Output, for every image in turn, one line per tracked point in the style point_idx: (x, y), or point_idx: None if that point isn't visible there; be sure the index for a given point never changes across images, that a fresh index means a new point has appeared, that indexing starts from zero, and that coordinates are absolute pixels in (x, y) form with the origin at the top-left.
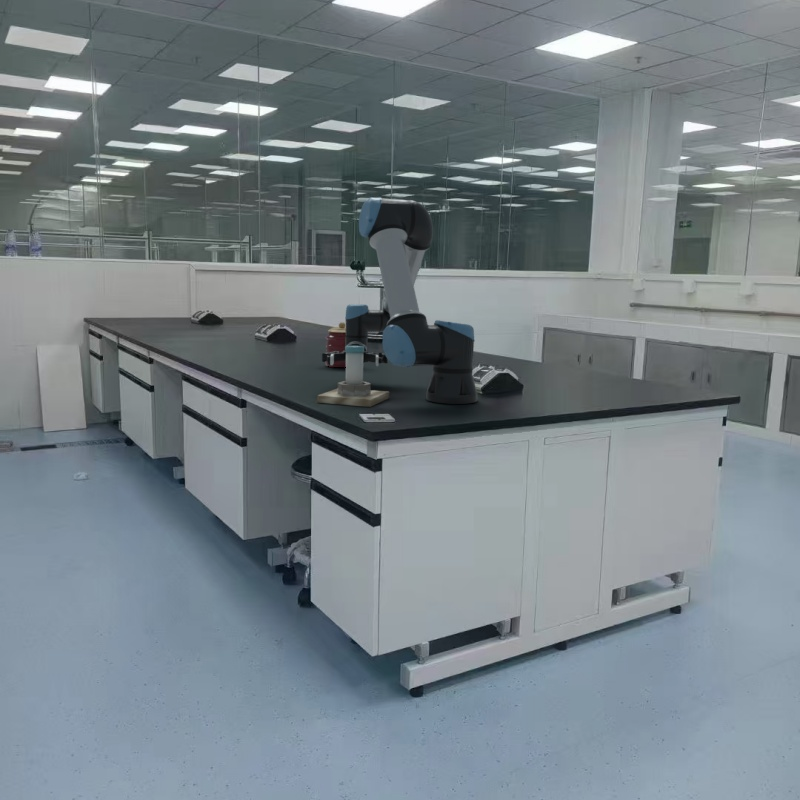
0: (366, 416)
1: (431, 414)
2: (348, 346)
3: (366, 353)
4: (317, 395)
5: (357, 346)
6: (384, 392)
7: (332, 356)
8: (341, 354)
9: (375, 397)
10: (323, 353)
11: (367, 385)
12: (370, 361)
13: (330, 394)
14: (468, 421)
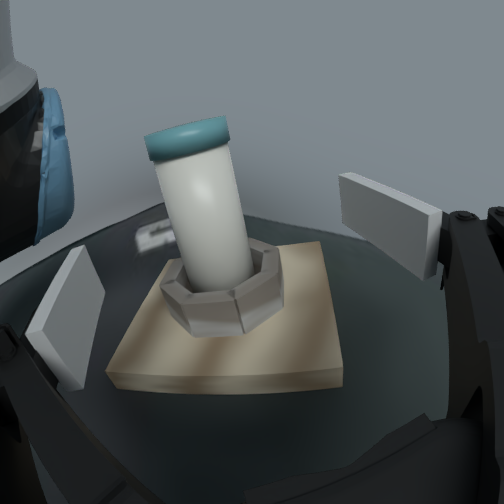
0: None
1: None
2: (211, 118)
3: (115, 468)
4: (319, 241)
5: (172, 128)
6: (123, 349)
7: (340, 176)
8: (468, 313)
9: (156, 280)
10: (499, 208)
11: (170, 268)
12: (116, 459)
13: (294, 260)
14: (45, 263)
